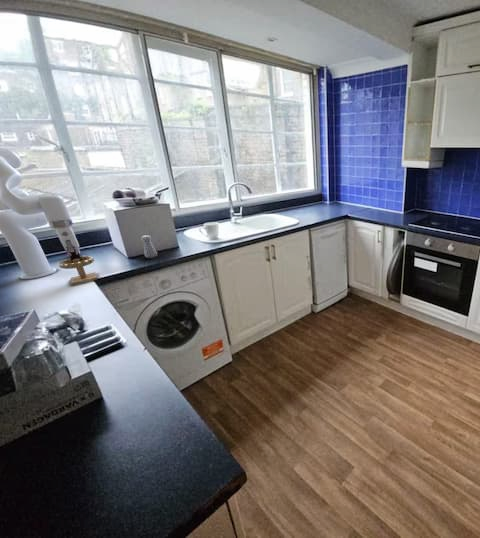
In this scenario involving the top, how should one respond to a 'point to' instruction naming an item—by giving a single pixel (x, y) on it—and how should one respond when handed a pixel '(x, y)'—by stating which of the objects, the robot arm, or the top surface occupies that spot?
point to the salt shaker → (148, 247)
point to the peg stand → (82, 275)
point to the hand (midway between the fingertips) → (77, 261)
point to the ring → (69, 265)
